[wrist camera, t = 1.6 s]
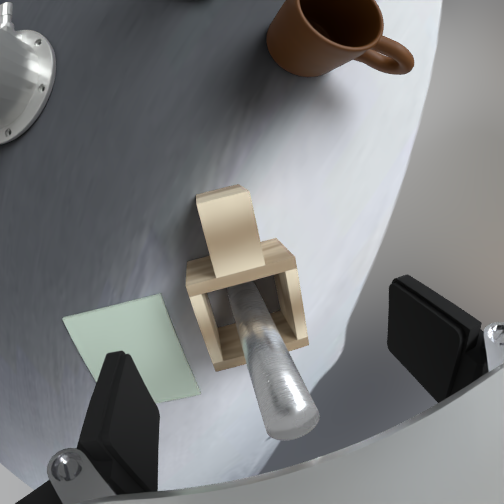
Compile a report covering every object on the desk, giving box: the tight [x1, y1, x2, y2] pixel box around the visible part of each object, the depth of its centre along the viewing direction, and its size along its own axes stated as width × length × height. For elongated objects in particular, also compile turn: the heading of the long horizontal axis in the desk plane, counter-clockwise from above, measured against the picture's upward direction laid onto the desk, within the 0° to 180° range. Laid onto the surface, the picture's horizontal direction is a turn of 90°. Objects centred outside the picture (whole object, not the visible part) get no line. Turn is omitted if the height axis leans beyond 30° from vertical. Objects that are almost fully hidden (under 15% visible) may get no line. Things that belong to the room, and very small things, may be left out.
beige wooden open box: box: [186, 184, 309, 371], centre depth 28 cm, size 15×9×6 cm, turn 12°
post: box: [227, 281, 320, 440], centre depth 23 cm, size 3×3×18 cm
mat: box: [62, 293, 201, 403], centre depth 32 cm, size 14×12×1 cm
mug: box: [267, 0, 414, 77], centre depth 21 cm, size 12×8×9 cm, turn 68°
